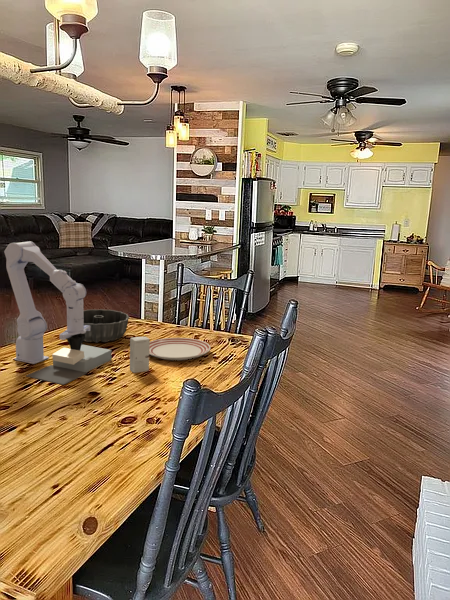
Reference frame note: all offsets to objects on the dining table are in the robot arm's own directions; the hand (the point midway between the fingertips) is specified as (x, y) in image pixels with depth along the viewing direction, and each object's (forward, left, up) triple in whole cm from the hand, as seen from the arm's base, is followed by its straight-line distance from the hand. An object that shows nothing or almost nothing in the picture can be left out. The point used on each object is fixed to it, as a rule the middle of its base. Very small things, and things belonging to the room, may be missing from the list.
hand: (75, 354), depth 170 cm
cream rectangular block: (0, -4, -1) cm, 4 cm away
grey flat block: (0, +4, -5) cm, 6 cm away
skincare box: (+22, +8, -5) cm, 24 cm away
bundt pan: (-15, +34, -5) cm, 37 cm away
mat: (0, -10, -5) cm, 11 cm away
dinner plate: (+25, +32, -5) cm, 41 cm away
